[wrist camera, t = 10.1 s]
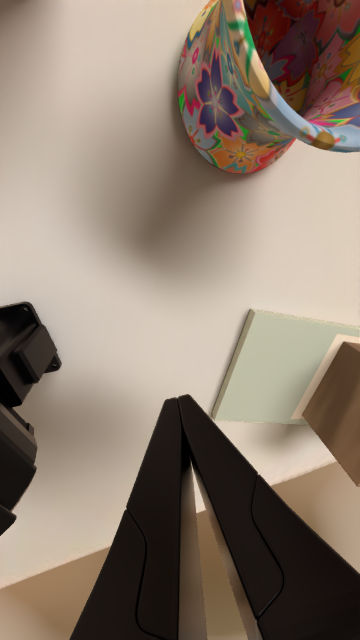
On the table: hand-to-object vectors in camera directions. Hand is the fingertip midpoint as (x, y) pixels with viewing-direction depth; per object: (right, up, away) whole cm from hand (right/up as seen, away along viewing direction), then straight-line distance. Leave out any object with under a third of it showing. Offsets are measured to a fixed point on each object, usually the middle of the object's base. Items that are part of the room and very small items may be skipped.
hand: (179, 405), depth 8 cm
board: (+17, -4, +19) cm, 25 cm away
